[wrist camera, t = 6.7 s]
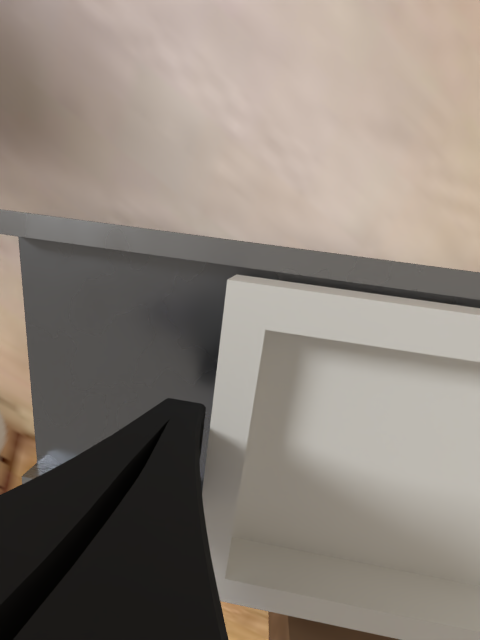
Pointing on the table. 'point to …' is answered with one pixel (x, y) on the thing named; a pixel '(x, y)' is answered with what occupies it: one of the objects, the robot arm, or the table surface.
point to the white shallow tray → (347, 459)
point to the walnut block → (313, 630)
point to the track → (157, 317)
